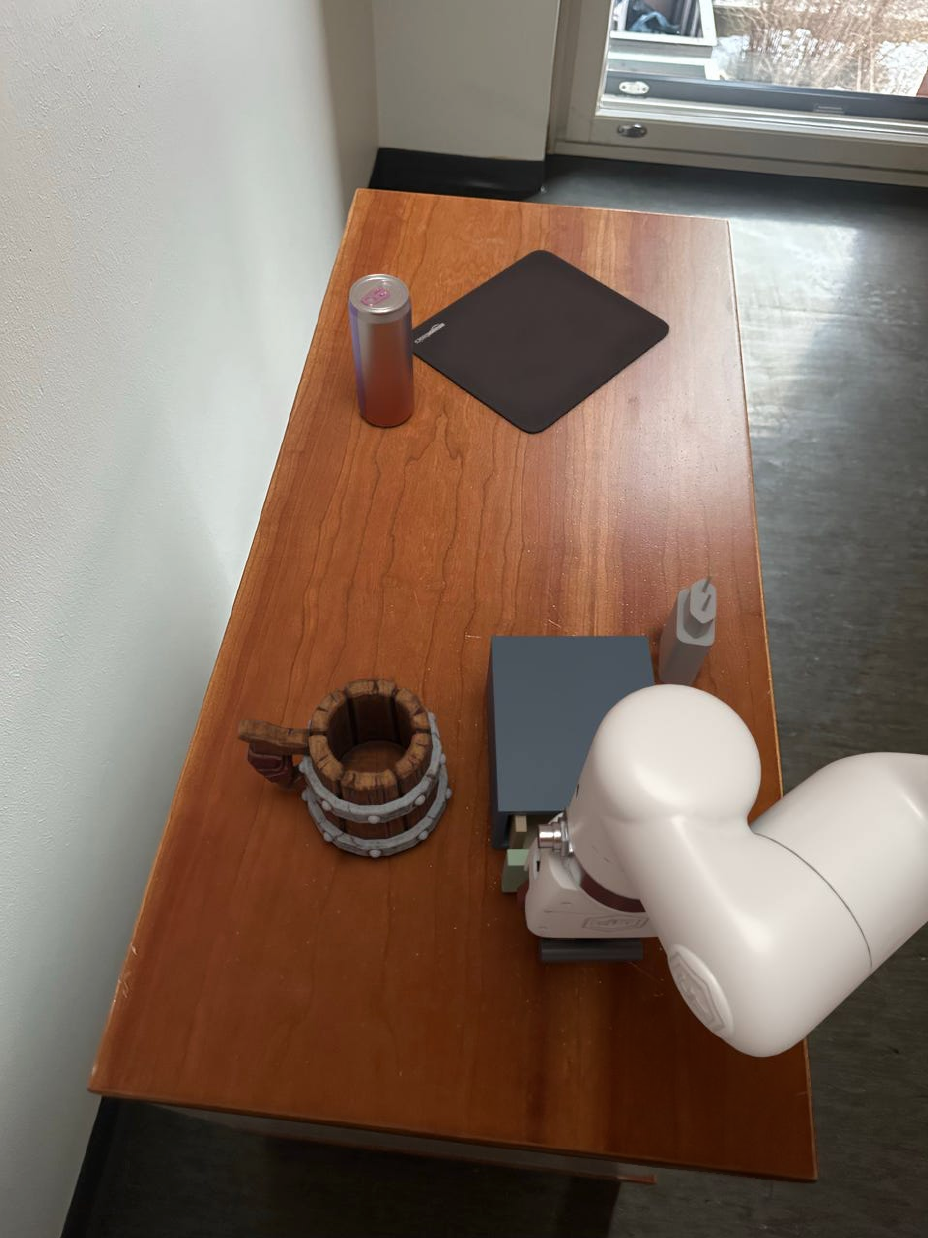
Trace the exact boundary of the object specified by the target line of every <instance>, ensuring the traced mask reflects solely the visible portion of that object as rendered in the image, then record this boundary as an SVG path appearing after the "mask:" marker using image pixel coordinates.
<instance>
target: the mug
mask: <svg viewBox="0 0 928 1238" xmlns="http://www.w3.org/2000/svg"><path fill="white" fill-rule="evenodd" d="M237 725H238V726H237V737H236V738H237V739H238V740H239V741H242V742H245V743H247V744H248V748H247V757H246V761H247V762H248V763H249V764H250V765H251V766H252V767H253V769H254V770H255V771H256V772H257V773H258V774H260V775H262V777H264V778H265V780H267V781H268V782H270V783H271V784H274V783H275V784H277V785H278V787H279V788H280V790H281V791H285V792H286V791H287V792H295V791H297V790H299V789H302V788H304V787H305V789H304V790H303V791H302V793H301V799H302V800H303V801H305V802H307V809H308V813H309V815H310V816H311V818H312V820H313V822H314V823H315V826H316V827H317V829H318V831H319V833H320V834H322V835H323V839H324V841H326V842H328V843H329V842H330V843H331V842H332V843H333V845H335V846H336V847H337V848H338V849H341V850H344V851H347V852H351V853H354V854H356V855H360V856H362V857H372V858H378V857H380V856H381V857H382V856H391V855H392V856H393V855H394V854H397V853H399V852H402V851H404V850H407V849H410V848H412V847H415V846H416V845H418V843H419V842H421V841H424V840H426V839H427V838H428V836H429V834H430V833H431V832H432V831H434V830H435V827H436V825H437V824H438V822H439V820H440V818H441V817H442V815H443V813H444V811H445V810H446V808H447V807H446V806H447V800H449V799H450V798H451V797H452V795H453V794H452V793H453V791H452V790H451V788H450V781H449V777H448V772H447V767H446V762H447V757H446V754H444V751H443V750H444V749H443V746H442V741H441V737H440V733H439V728H438V725H437V723H436V714H434V713H433V712H431V711H428V709H427V707H426V706H425V705H424V704H423V702H421V700H420V698H419V697H418V695H416V694H415V693H414V692H413V691H411V690H410V689H408V688H407V687H405V686H403V687H402V688H400V689H399V688H398V683H397V682H395V681H392V680H388V679H385V678H381V677H380V678H379V677H377V678H359V679H355V680H353V681H349V682H347V683H345V684H344V689H343V690H341V689H340V688H338V687H337V688H335V689H334V690H332V691H331V692H330V693H328V694H327V695H326V696H324V697H323V698H322V700H321V701H320V703H319V704H318V705H317V707H316V708H315V710H314V711H313V713H312V715H311V719H309V721H307V728H304V727H303V728H294V727H293V728H292V727H282V726H279V725H277V724H274V723H272V722H269V721H267V720H260V719H254V718H249V717H247V718H245V719H242V720H239V721H238V724H237ZM295 755H296V756H297V755H298V756H302V761H301V762H299V763H297V764H296V765H294V762H293V756H295Z"/></svg>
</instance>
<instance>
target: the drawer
mask: <svg viewBox="0 0 928 1238" xmlns="http://www.w3.org/2000/svg"><path fill="white" fill-rule="evenodd" d="M556 816H557V815H508V830H509V849H506V853H505V858H504V863H503V868H502V872H501V876H500V879H501V881H500V882H501V883H500V884H501V893H517V888H518V887H519V886H520V885H521V884H523V883H524V882H525V881H526V880H527V879H528V878H529V873H528V871H525V870H524V865H525V860H526V857H527V855H528V852H529V850H530V848H531V846H532V844H533V842H534V841H535V839H536V838H537V826H538V824H548V823H549V822H550V821H551V820H552V819H554V818H555V817H556ZM643 947H644V946H643V943H642V940H641V938H640V937H633V938H601V939H574V938H553V939H552V938H550V937H542V936H541V939H540V940H539V944H538V953H539V955H538V956H539V961H540V963H545V964H546V963H548V964H549V963H550V964H551V963H553V964H555V963H606V962H607V963H617V962H618V963H619V962H621V963H622V962H623V963H625V962H633V963H634V962H642V961H643V958H644V948H643Z"/></svg>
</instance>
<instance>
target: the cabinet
mask: <svg viewBox="0 0 928 1238" xmlns="http://www.w3.org/2000/svg"><path fill="white" fill-rule="evenodd" d="M651 657H652V656H651V650H650V642H649V636H648V635H491V636H490V645H489V654H488V665H487V673H486V674H487V676H486V683H485V692H486V693H485V694H486V696H485V697H486V721H487V725H486V726H487V751H488V755H487V756H488V781H489V783H488V784H489V807H490V808H489V809H490V811H489V813H490V836H491V837H490V839H491V842H490V843H491V849H492V850H508V849H509V830H508V815H558V814H560V813H563V812H564V810H565V807H566V806H570V804H571V801H572V798H573V795H574V793H575V790H576V787H577V784H578V781H579V778H580V776H581V773H582V770H583V767H584V764H585V762H586V759H587V756H588V753H589V751H590V748H591V745H592V742H593V739H594V737H595V734H596V732H597V730H598V728H599V726H600V724H601V722H602V721H603V719H604V717H605V716H606V714H607V713H608V712H609V711H610V710H611V708H612V707H614V706H615V705H616V704H617V703H618V702H619V701H620V700H622V699H623V698H625V697H626V696H628V695H629V694H631V693H633V692H636V691H638V690H640V689H643V688H646V687H651V686H655V685H656V683H655V675H654V668H653V661H652V658H651Z"/></svg>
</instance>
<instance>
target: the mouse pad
mask: <svg viewBox="0 0 928 1238" xmlns="http://www.w3.org/2000/svg"><path fill="white" fill-rule="evenodd" d="M669 331H670V326H669V323H667V322H666V321H665V320H664V319H662V318H661V317H659V316H658V315H656V314H655V313H653V312H651V311H649V310H647V309H646V308H645V307H642V306H641V305H639V304H637V303H636V302H635V301H633V300H631V299H629V298H628V297H626V296H624V295H623V294H621V293H619V292H618V291H616V290H614V289H613V288H611V287H609V286H607V285H606V284H604V283H603V282H601V281H599V280H598V279H596V278H594V277H592V276H591V275H589V274H588V273H586V272H584V271H583V270H581V269H579V268H578V267H576V266H575V265H572V264H571V263H569V262H568V261H566V260H564V259H563V258H562V257H559V256H557V254H555V253H552V252H551V251H548V250H545V249H537V250H533V251H531V252H529V253H528V254H526V255H525V256H523V257H521V258H520V259H518V260H516V261H515V262H514V263H512V264H511V265H509V266H507V267H506V268H504V269H503V270H501V271H499V273H497V274H495V275H493V276H492V277H491V278H489V279H487V280H486V281H484V282H482V283H481V284H480V285H478V286H476V287H475V288H473V289H472V290H470V291H469V292H467V293H466V294H464V295H463V296H461V297H460V298H458V299H457V300H455V301H453V302H452V303H450V304H449V305H448V306H446V307H444V308H443V309H441V310H440V311H438V312H437V313H435V314H433V315H432V316H430V317H428V318H427V319H426V320H424V321H423V322H421V323H420V324H418V325H417V326H415V327H413V328H412V343H413V355H415V356H417V357H418V358H419V359H421V360H422V361H424V362H425V363H426V364H428V365H429V366H430V367H432V368H434V369H435V370H437V371H438V372H439V373H441V374H442V375H443V376H445V377H446V378H448V379H449V380H450V381H452V382H453V383H455V384H456V385H457V386H459V387H460V388H461V389H463V390H465V391H466V392H467V393H469V394H470V395H472V396H473V397H475V398H476V399H477V400H478V401H480V402H481V403H483V404H484V405H486V406H487V407H488V408H490V409H492V410H493V411H494V412H496V413H497V414H499V415H500V416H502V417H503V418H504V419H505V420H507V421H509V422H510V423H511V424H513V425H514V426H516V428H518V429H520V430H521V431H524V432H526V433H530V434H537V433H540V432H542V431H544V430H546V429H547V428H549V427H550V426H551V425H552V424H554V423H555V422H557V421H558V420H559V419H560V418H561V417H563V416H564V415H566V414H568V413H569V412H570V411H571V410H572V409H574V407H576V406H577V405H579V404H580V403H581V402H582V401H583V400H585V399H587V397H589V396H590V395H591V394H593V393H594V392H595V391H596V390H598V389H599V388H601V387H602V386H603V385H605V384H606V383H607V382H609V380H611V379H612V378H614V377H615V376H616V375H617V374H619V373H620V372H621V371H622V370H624V369H625V368H626V367H627V366H629V365H631V364H632V363H633V362H634V361H636V360H637V359H638V358H639V357H641V356H642V355H644V354H645V353H646V352H647V351H648V350H650V349H651V348H652V347H654V345H656V344H657V343H659V342H660V341H661V340H662V339H663V338H665V337H666V336H667V335H668V333H669Z"/></svg>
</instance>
